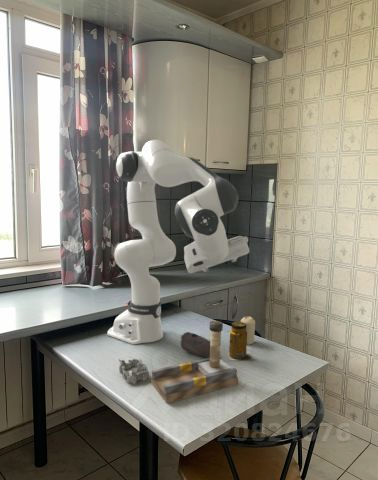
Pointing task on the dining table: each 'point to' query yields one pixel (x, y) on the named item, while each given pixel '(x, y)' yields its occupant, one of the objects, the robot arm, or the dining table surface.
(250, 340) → the candle
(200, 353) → the perforated stone tool
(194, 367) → the press base
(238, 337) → the condiment
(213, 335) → the press handle
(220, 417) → the dining table surface
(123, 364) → the egg carton
